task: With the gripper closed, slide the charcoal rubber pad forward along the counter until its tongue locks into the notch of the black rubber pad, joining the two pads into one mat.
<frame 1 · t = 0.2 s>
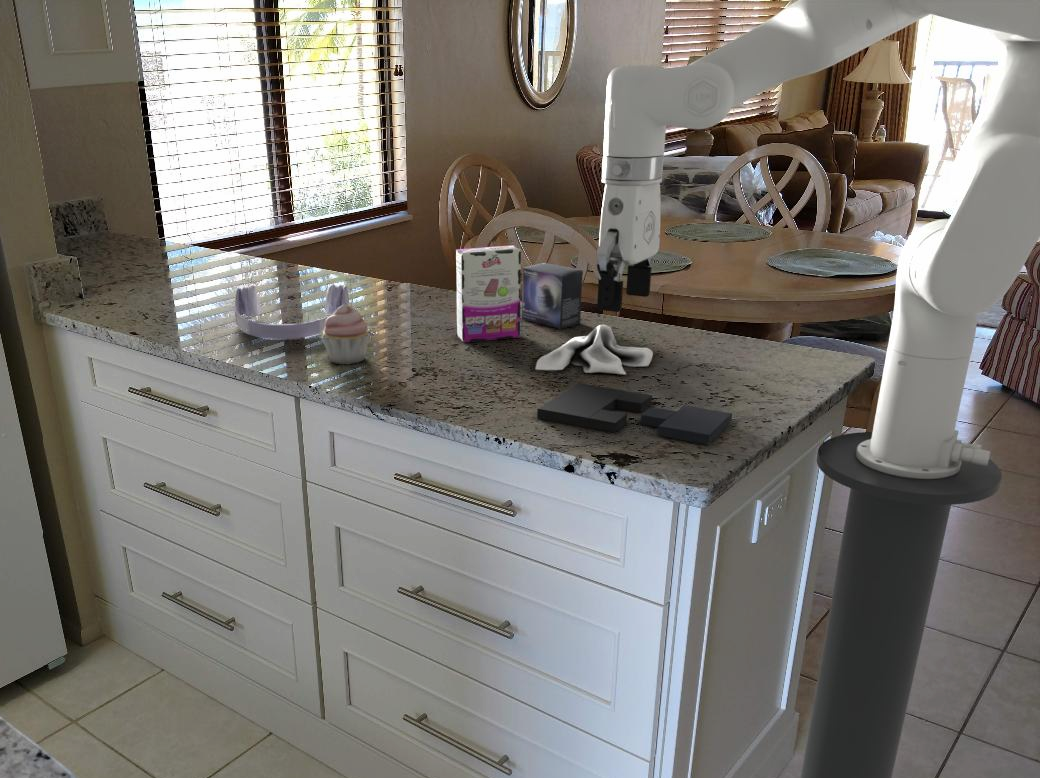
hand: (623, 302, 133), 18 cm above the counter, tool pointing down, fingers open, 9 cm apart
headphones: (289, 327, 196), on the counter
charcoal pad: (695, 429, 138), on the counter
cloth: (593, 361, 170), on the counter
small box: (550, 322, 195), on the counter
cupcake: (347, 360, 174), on the counter
candy bar box: (487, 338, 185), on the counter
black pad: (595, 411, 146), on the counter
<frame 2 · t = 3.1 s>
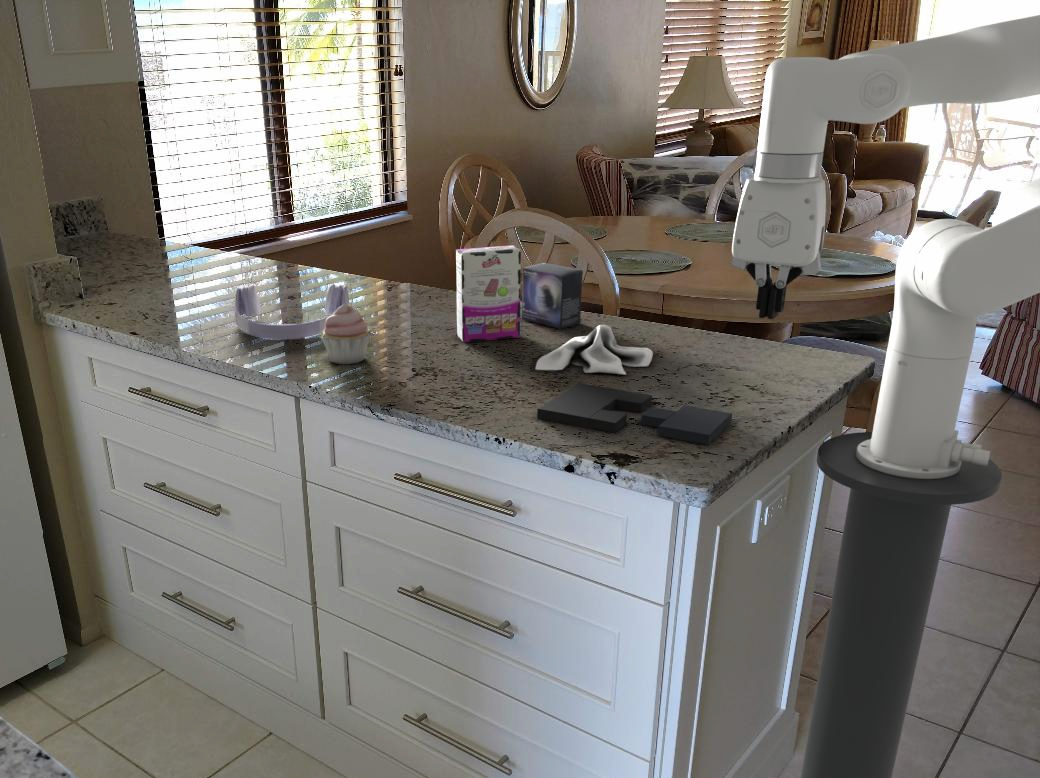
hand: (768, 316, 127), 17 cm above the counter, tool pointing down, fingers closed
nothing on the counter moved.
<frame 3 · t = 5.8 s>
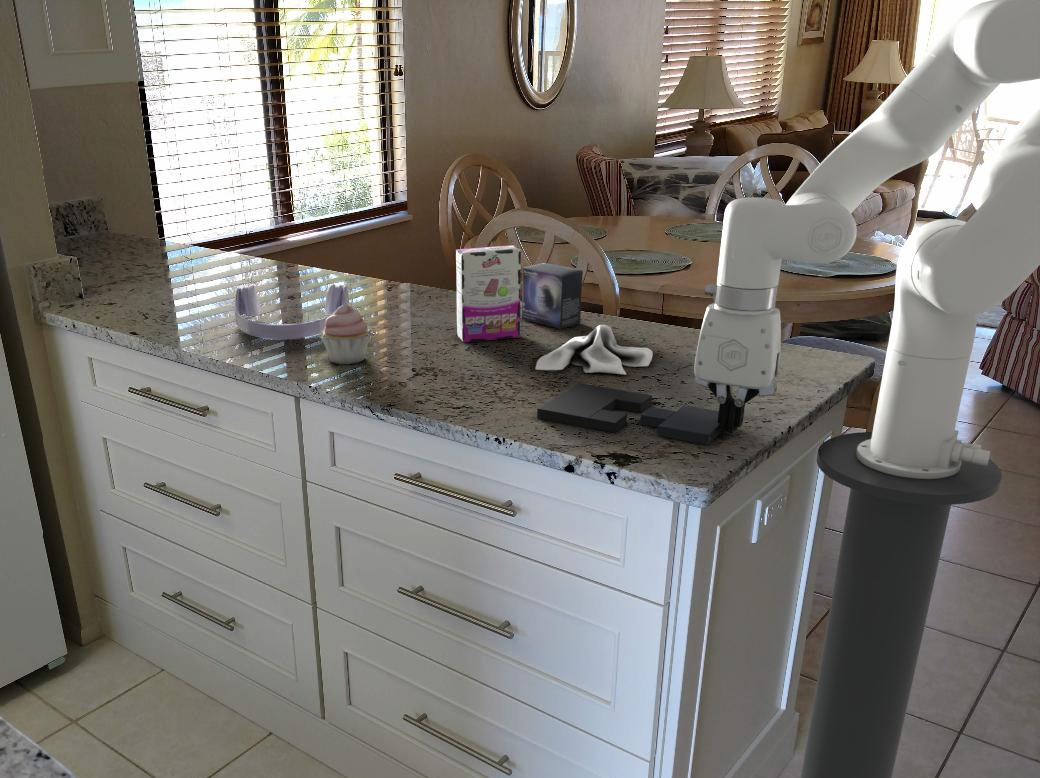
hand: (729, 430, 135), 1 cm above the counter, tool pointing down, fingers closed
charcoal pad: (694, 429, 138), on the counter, touching gripper
everything else where it was.
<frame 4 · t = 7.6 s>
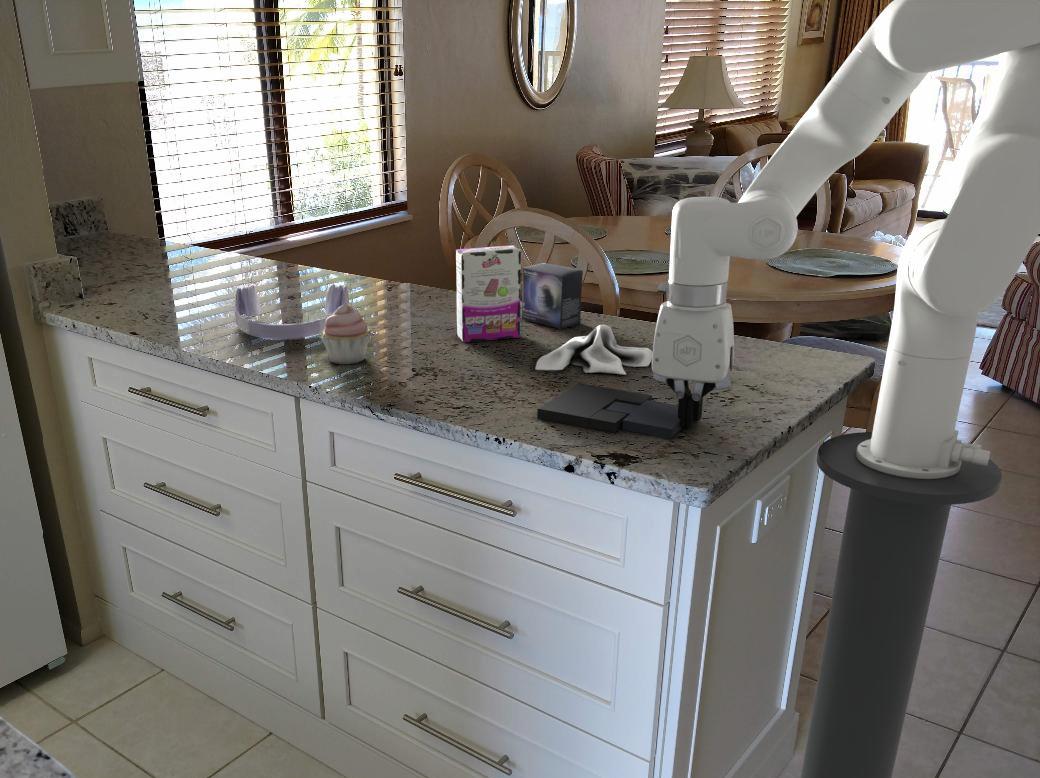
hand: (689, 424, 138), 1 cm above the counter, tool pointing down, fingers closed
charcoal pad: (657, 423, 141), on the counter, touching black pad, gripper
everything else where it was.
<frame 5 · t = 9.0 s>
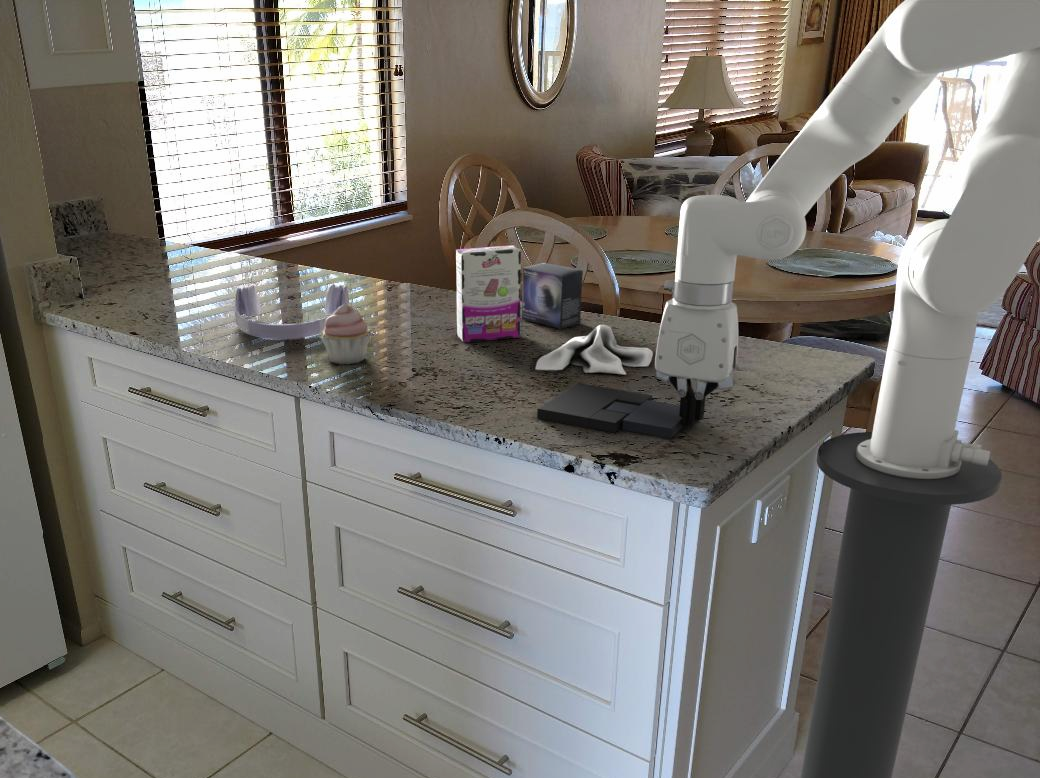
hand: (690, 422, 138), 1 cm above the counter, tool pointing down, fingers closed
nothing on the counter moved.
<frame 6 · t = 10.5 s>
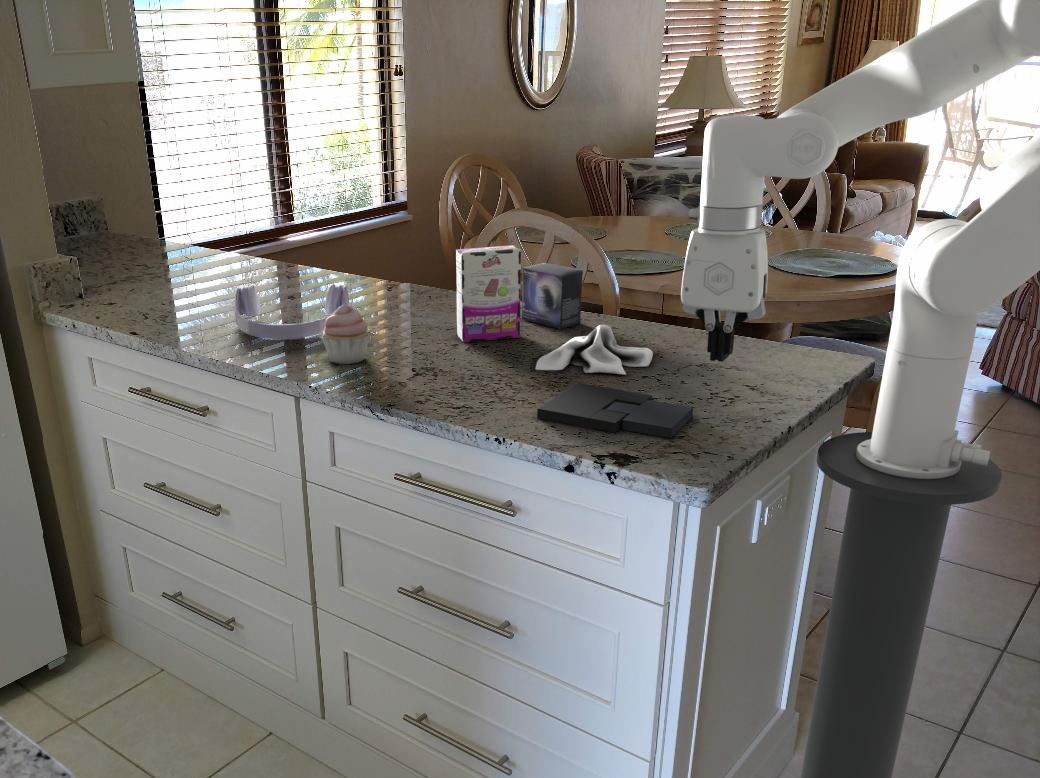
hand: (719, 358, 133), 11 cm above the counter, tool pointing down, fingers closed
charcoal pad: (657, 423, 141), on the counter, touching black pad
everything else where it was.
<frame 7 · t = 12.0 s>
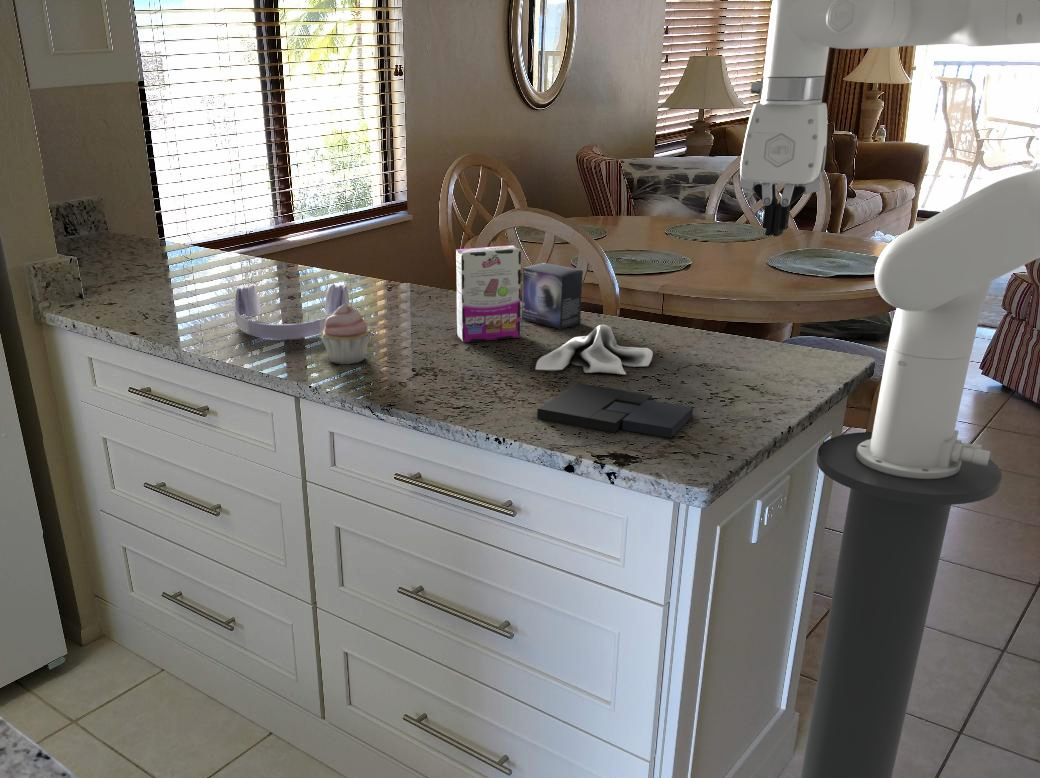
hand: (774, 234, 137), 25 cm above the counter, tool pointing down, fingers closed
nothing on the counter moved.
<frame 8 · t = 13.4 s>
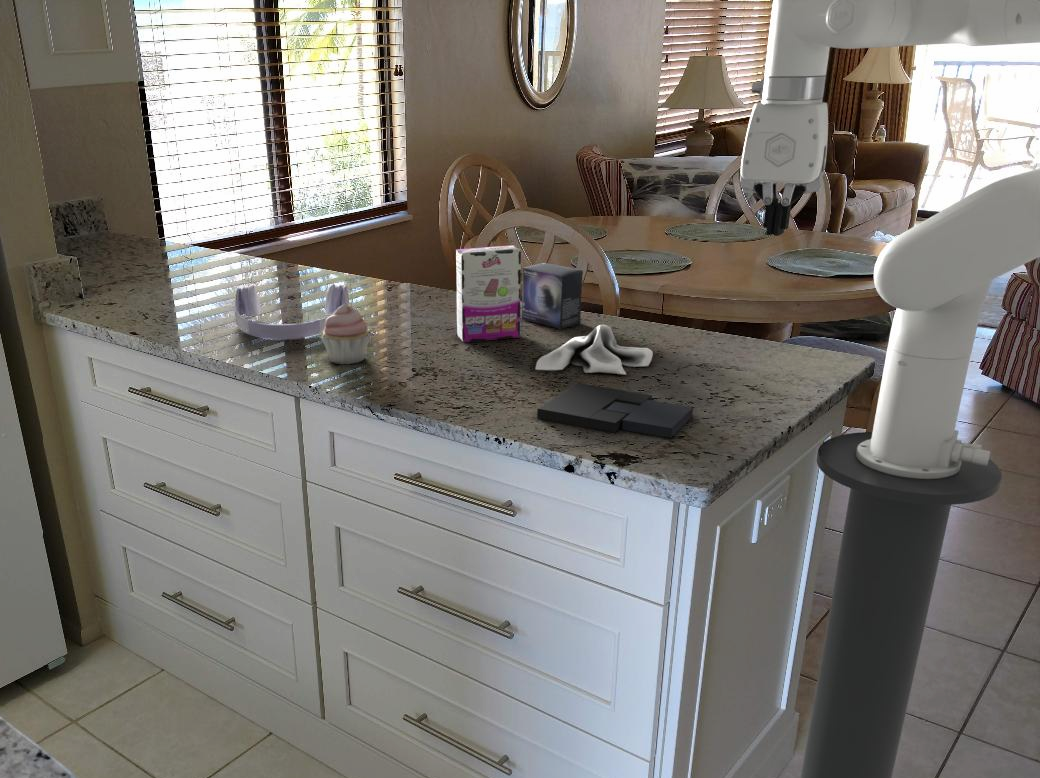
hand: (774, 233, 137), 25 cm above the counter, tool pointing down, fingers closed
nothing on the counter moved.
at the end: charcoal pad 0.2 cm from the target spot, on the counter; charcoal pad moved 5.3 cm from its start; charcoal pad tilted 0° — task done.
